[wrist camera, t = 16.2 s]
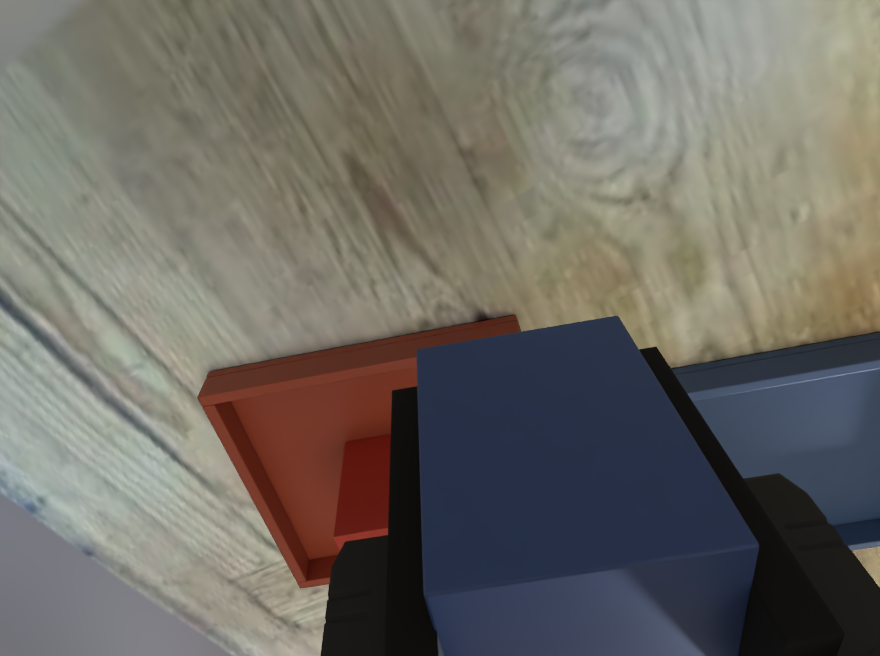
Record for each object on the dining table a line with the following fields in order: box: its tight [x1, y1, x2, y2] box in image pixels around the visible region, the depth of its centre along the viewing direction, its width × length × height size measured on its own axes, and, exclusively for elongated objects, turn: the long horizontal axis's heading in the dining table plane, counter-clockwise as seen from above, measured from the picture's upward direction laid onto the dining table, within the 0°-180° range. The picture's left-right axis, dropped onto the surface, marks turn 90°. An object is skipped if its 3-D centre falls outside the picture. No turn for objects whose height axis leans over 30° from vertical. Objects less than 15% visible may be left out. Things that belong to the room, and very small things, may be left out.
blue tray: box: [671, 332, 880, 551], centre depth 33 cm, size 15×15×2 cm
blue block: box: [416, 316, 759, 656], centre depth 11 cm, size 4×4×6 cm
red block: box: [334, 434, 391, 551], centre depth 29 cm, size 4×4×6 cm
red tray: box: [198, 315, 521, 588], centre depth 31 cm, size 15×15×2 cm
